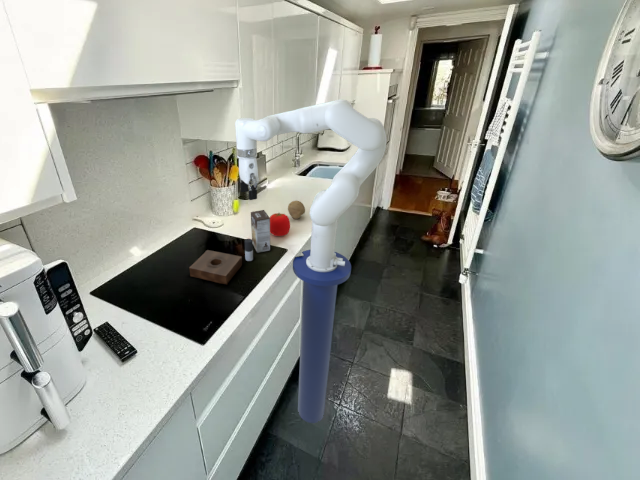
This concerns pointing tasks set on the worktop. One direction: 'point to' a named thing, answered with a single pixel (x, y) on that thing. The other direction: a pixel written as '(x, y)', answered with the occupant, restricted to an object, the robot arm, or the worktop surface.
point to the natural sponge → (296, 209)
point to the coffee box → (260, 230)
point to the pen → (248, 249)
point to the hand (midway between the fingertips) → (248, 195)
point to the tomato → (279, 224)
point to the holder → (216, 267)
